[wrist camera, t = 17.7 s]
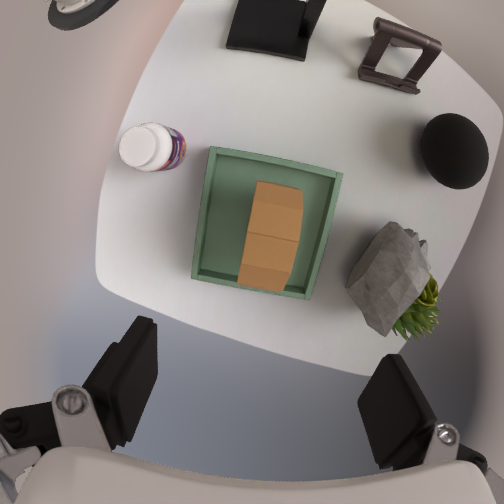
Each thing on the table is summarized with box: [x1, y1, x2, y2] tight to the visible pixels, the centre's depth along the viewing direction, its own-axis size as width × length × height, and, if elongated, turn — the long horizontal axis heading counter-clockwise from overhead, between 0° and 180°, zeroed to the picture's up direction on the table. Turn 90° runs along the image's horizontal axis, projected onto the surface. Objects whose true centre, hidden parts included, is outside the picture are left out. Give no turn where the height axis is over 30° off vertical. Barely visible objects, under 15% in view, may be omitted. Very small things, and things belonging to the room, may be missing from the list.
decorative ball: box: [421, 113, 489, 189], centre depth 26 cm, size 10×10×10 cm
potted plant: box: [345, 222, 442, 342], centre depth 31 cm, size 12×13×15 cm
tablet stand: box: [358, 17, 442, 95], centre depth 23 cm, size 9×8×8 cm
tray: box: [191, 146, 343, 300], centre depth 33 cm, size 16×17×3 cm
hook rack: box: [226, 0, 327, 61], centre depth 20 cm, size 13×10×12 cm
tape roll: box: [237, 180, 303, 292], centre depth 29 cm, size 4×11×11 cm, turn 169°
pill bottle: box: [119, 123, 187, 172], centre depth 27 cm, size 5×5×10 cm
